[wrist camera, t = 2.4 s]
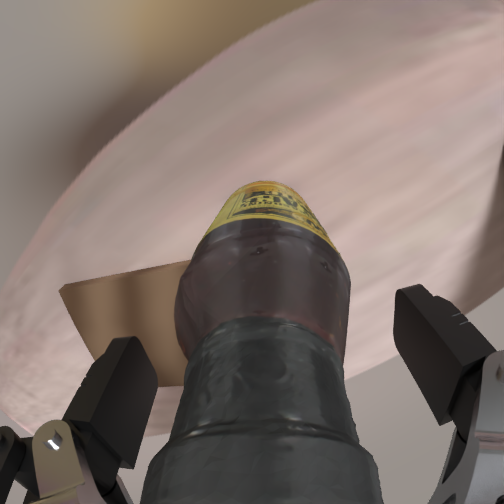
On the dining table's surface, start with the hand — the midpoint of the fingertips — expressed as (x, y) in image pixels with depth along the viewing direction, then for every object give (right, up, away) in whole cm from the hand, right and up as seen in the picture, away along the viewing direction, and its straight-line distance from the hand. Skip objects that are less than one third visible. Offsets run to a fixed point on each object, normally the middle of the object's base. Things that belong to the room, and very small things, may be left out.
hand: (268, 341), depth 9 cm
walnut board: (-10, -5, +17) cm, 20 cm away
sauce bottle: (0, +5, +13) cm, 14 cm away
